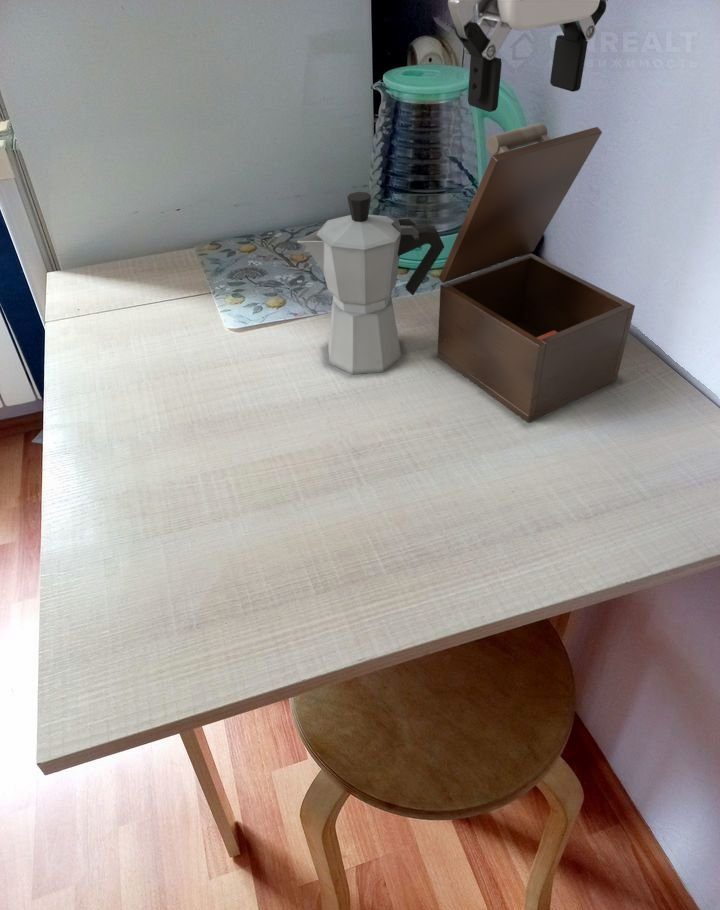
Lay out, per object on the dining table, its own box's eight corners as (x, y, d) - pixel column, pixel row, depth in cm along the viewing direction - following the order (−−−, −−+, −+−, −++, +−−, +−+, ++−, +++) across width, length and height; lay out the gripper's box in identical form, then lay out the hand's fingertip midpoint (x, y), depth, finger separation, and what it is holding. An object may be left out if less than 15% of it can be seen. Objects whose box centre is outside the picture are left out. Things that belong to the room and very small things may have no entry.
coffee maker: (309, 379, 76) (294, 217, 65) (306, 337, 83) (292, 182, 71) (446, 368, 77) (455, 206, 65) (432, 327, 84) (438, 173, 72)
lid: (602, 131, 64) (572, 99, 66) (497, 161, 59) (467, 125, 61) (533, 251, 78) (509, 222, 79) (442, 283, 73) (418, 251, 74)
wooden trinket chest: (617, 380, 74) (635, 305, 69) (527, 422, 69) (539, 346, 64) (521, 322, 84) (530, 252, 78) (437, 356, 79) (440, 284, 73)
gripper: (497, -154, 45) (476, 127, 57) (676, -163, 52) (625, 89, 63) (427, -153, 50) (420, 106, 62) (599, -162, 57) (564, 73, 68)
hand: (524, 97), depth 62 cm, fingers open, 9 cm apart
